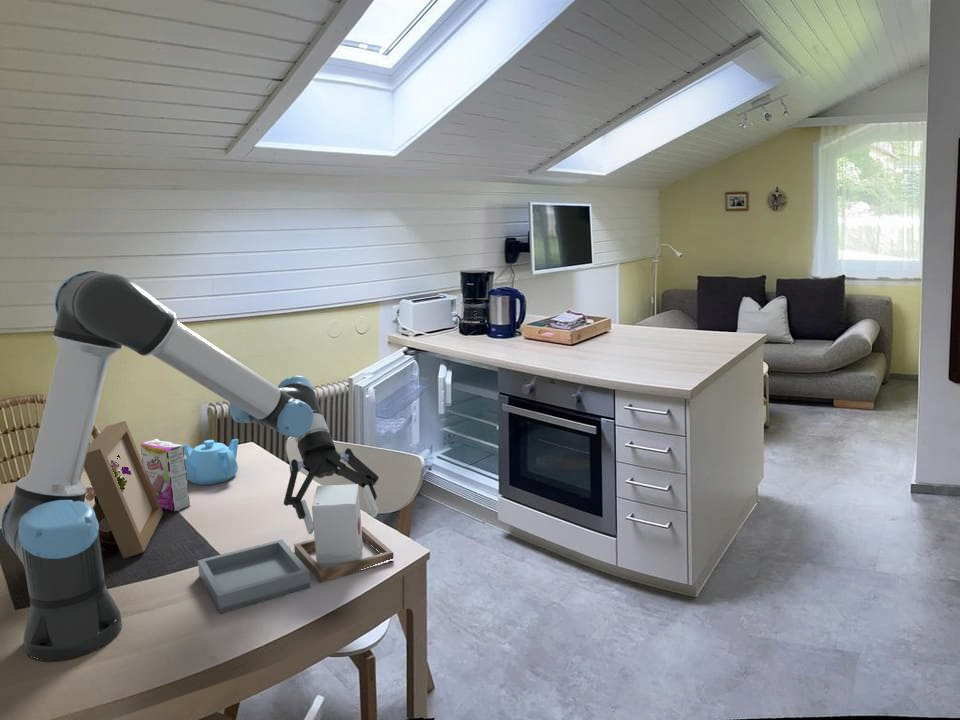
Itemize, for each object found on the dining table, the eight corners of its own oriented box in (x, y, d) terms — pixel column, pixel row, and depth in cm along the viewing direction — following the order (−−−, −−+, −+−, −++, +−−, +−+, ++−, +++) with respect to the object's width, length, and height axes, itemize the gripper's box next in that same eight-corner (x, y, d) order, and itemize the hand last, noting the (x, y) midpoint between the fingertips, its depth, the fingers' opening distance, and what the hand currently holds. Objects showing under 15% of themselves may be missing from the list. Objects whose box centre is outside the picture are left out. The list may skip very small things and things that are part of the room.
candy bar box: (146, 504, 193) (138, 443, 190) (163, 498, 197) (156, 437, 194) (173, 513, 187) (166, 449, 184) (191, 506, 191) (184, 444, 188)
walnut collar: (320, 582, 150) (319, 573, 150) (294, 552, 164) (294, 544, 163) (393, 561, 158) (393, 552, 158) (363, 534, 172) (362, 526, 171)
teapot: (179, 490, 202) (175, 452, 200) (185, 472, 217) (181, 436, 214) (239, 484, 206) (235, 446, 204) (241, 466, 220) (237, 430, 218)
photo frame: (163, 516, 185) (150, 418, 180) (144, 556, 164) (128, 446, 159) (98, 524, 182) (83, 424, 177) (70, 565, 161) (52, 453, 156)
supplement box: (360, 568, 156) (355, 504, 151) (316, 571, 155) (310, 506, 150) (363, 544, 164) (359, 482, 160) (322, 546, 164) (316, 484, 159)
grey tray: (219, 613, 140) (217, 596, 139) (199, 576, 154) (197, 560, 153) (310, 587, 148) (309, 570, 148) (283, 554, 163) (282, 539, 162)
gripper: (362, 437, 177) (394, 516, 167) (253, 458, 164) (282, 546, 154) (370, 419, 172) (404, 500, 162) (258, 440, 158) (288, 529, 149)
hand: (345, 523), depth 158 cm, fingers open, 13 cm apart
